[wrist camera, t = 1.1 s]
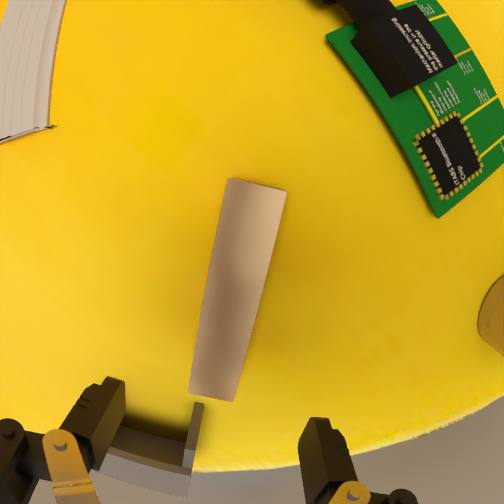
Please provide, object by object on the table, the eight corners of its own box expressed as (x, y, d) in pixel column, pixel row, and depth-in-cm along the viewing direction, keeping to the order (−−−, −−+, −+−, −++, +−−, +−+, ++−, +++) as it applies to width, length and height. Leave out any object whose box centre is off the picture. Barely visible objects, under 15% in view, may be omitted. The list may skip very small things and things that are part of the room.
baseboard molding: (104, -75, 16) (33, -43, 16) (96, -86, 13) (23, -50, 13) (63, 126, 23) (-10, 150, 23) (45, 123, 20) (-26, 150, 20)
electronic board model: (551, 148, 16) (473, 229, 18) (509, 147, 23) (429, 215, 25) (377, -97, 10) (248, -75, 12) (360, -65, 17) (249, -33, 19)
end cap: (203, 404, 30) (193, 458, 22) (195, 449, 32) (187, 497, 24) (110, 378, 29) (82, 425, 22) (114, 427, 32) (94, 470, 24)
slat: (280, 188, 25) (287, 191, 20) (235, 369, 29) (233, 401, 24) (232, 177, 24) (228, 178, 20) (196, 361, 29) (187, 392, 24)
